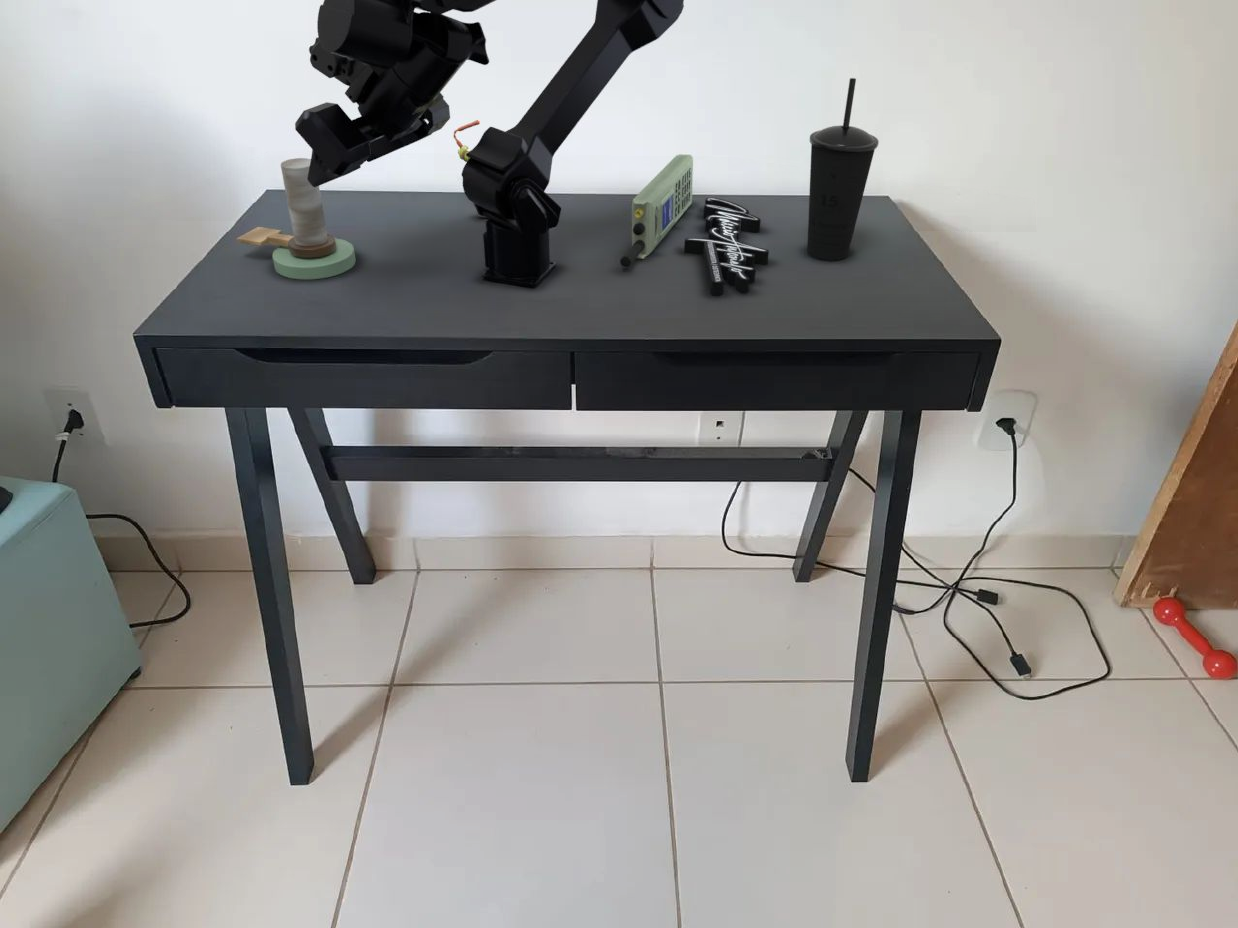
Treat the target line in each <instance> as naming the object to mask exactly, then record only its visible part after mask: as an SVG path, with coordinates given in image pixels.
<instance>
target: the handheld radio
mask: <svg viewBox="0 0 1238 928" xmlns="http://www.w3.org/2000/svg"><path fill="white" fill-rule="evenodd" d="M693 176H694V157H693V156H692V155H691V154H677V155H675V156H674V157H673V158H672V159H671V160H670V161H669V163H667V164H666V165H665V166H664V167H663V169H661V170H660V171H659V172H658V173H657V175H656V176H654V177H653V178H652V179H651V180H650V181H649V182H648V184H647V185H645V186H644V188H643V189H642V190H641V191H640V192H639V193H637V195H636V196H635V197H633V199H632V200H631V247H630V248H629V249H628V250H627V251H626V252H625V254H624V255H623V256H621V258H620V259H619V263H620V265H621V266H622V267H623V268H629V267H630V266H631V265H632V264H633V263H634V261H635V260H636V259H640V260H644V259H646V258H647V256H649V255H650V254H652V253H653V251H654V250H655V249H656V247H657V246H658V245H659V244H660V242H662V240H663V239H664V237H666V235H667V234H668V233H669V232H670V230H671V229H672V228H673V227H674V225H675V224H676V223H677V222H679V221H678V220H680V218H681V217H682V216H683V214H684V213H685V212H686V211H687V209H689V207H690V206H691V205H692V204H693V180H694V179H693V178H694V177H693Z"/></svg>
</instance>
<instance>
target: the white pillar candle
mask: <svg viewBox="0 0 1238 928" xmlns="http://www.w3.org/2000/svg"><path fill="white" fill-rule="evenodd" d="M310 162H311V158H307V157H296V158H289V159H286V160H284V161H282V162H281V163H280V169H281V175H282V180H283V186H284V191H285V197H286V202H287V207H288V213H289V218H290V223H291V229H292V233H293V235H289V234H283V233H282V230H281V229H275V228H268V227H263V226H257V227H255V228H253V229H252V230H250V231H247V232H245V233H244V234H242V235H240V236H238V237H237V238H236V242H237V243H238V244H239V243H240V244H245V245H251V246H257V247H262V246H264V245H265V244H270V245H275V246H287V247H289V252H290V253H291V254H292V255H294V256H297V257H305V258H311V257H320V256H324V255H327V254H330V253H332V252H333V251H334V250H335V249H336V241H335V238H336V237H335V236H333V234H330V233H328V232H327V231H328V230H327V226H326V220H325V219H326V218H325V213H324V208H323V202H322V195H321V190H320V186H317V187H313V186H312V185H311V184H310V183H309V181H308V180H307V177H308V172H309V167H310Z"/></svg>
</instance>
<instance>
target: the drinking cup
mask: <svg viewBox="0 0 1238 928" xmlns="http://www.w3.org/2000/svg"><path fill="white" fill-rule="evenodd" d="M856 82H857V78H856V77H855V78H854V77H850V78H849V81H848V87H847V95H846V102H845V108H844V114H843V115H844V116H843V123H842V125H832V126H828V127H825V128H823V129H821V130H817V131H814V132H812V133H811V134H810V135H809V139H808V140H809V143H810V145H811V147H810V149H811V150H810V169H809V171H810V173H809V197H808V198H809V199H808V221H807V245H806V246H807V247H806V248H807V249H806V252H807V254H808V255H809V256H810V257H811V258H814V259H817V260H820V261H827V262H836V261H837V262H838V261H842V260H844V259H846V258H848V256H849V251H850V248H851V245H852V240H853V237H854V232H855V228H856V223H857V220H858V216H859V212H860V209H861V204H862V200H863V196H864V193H865V190H866V189H865V188H866V185H867V182H868V177H869V173H870V169H871V165H872V161H873V158H874V154H875V150H876V149H877V148H878V147H879V139H878V138H877V137H876V136H875V135H872V134H871V133H868V132H867V131H866V130H864V129H862V128H859V127H856V126H851V125H850V123H851V116H852V108H853V102H854V97H855V96H854V95H855V90H856Z"/></svg>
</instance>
